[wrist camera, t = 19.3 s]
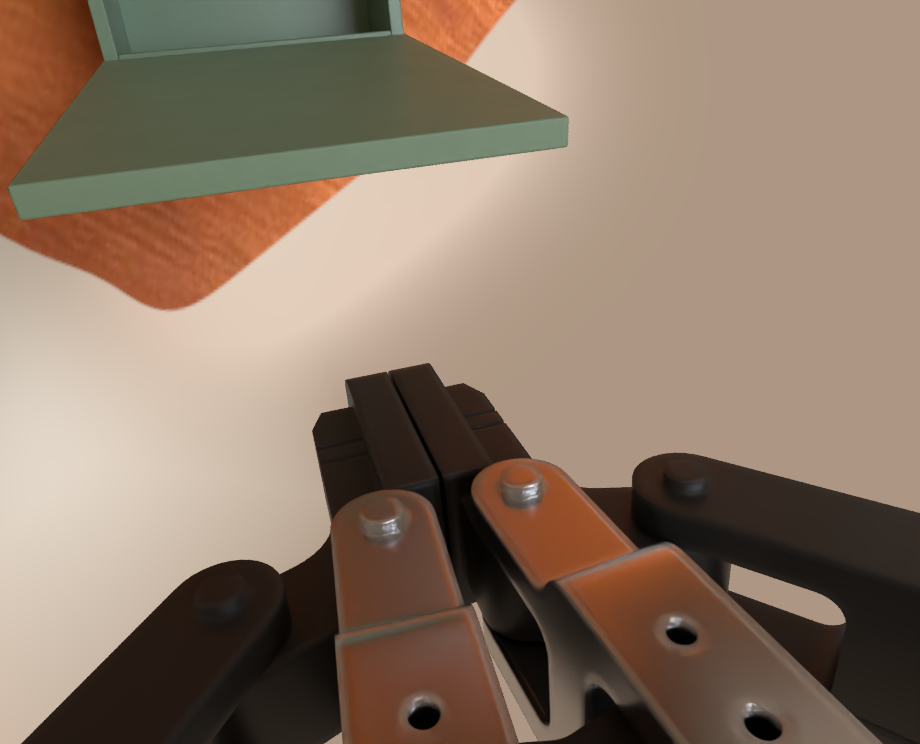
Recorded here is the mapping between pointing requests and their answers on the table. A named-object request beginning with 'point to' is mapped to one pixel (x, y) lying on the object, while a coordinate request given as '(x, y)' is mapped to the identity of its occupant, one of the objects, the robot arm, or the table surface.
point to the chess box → (233, 24)
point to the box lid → (272, 123)
